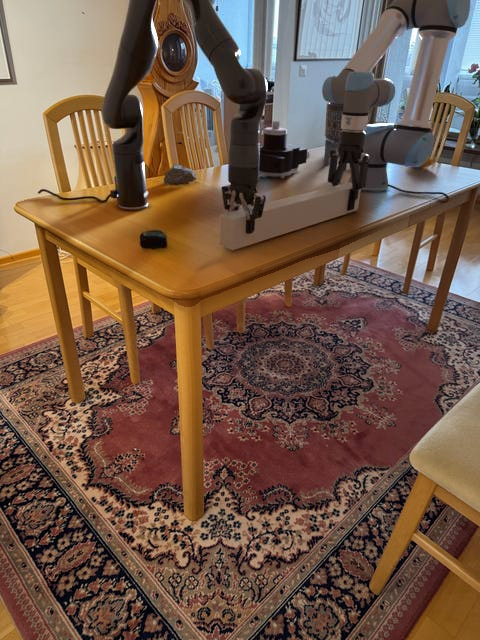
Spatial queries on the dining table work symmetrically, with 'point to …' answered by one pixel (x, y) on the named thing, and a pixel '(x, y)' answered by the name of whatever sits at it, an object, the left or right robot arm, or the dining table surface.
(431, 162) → the toy
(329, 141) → the planter
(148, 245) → the tape measure
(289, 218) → the bar
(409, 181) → the dining table surface
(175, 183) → the rock
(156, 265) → the dining table surface
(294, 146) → the mechanical component
